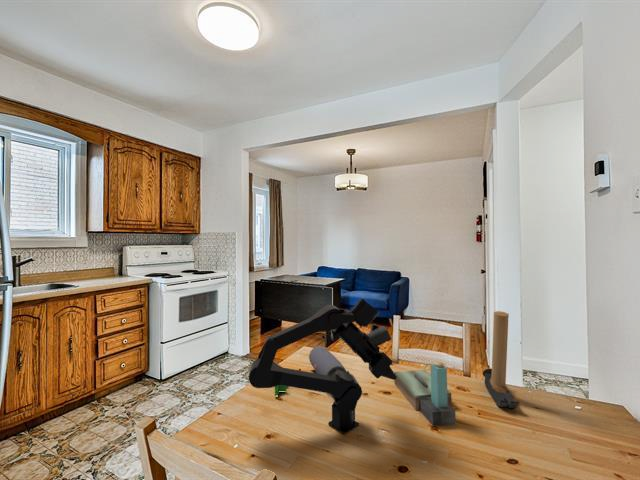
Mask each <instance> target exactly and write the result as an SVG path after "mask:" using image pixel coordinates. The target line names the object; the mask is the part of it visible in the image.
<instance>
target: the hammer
mask: <svg viewBox="0 0 640 480" xmlns="http://www.w3.org/2000/svg"><path fill="white" fill-rule="evenodd" d="M509 315H510V314H509V313H508V312H505V311H500V310H499V311H498V310H495V311H494V312H493V320H492V321H493V322H492V323H493V327H492V328H493V329H492V349H491V350H492V352H491V354H492V355H491V368H486V369H484V370H483V371H482V375H483V377H484V385H485V387H486V389H487V392H488V393H489V395H490V397H491V398H492V400H493V402H494V403H495V405H496V406H497V407H500V408H510V409H517V407H518V406H519V404H520V401H515V399H514V398H513V395H512V394H511V392H510V390H509V389H508V387H507V384H506V382H507V381H506V380H507V359H508V358H507V357H508V336H509V335H508V334H509V333H508V331H509Z"/></svg>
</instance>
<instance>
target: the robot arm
mask: <svg viewBox="0 0 640 480" xmlns="http://www.w3.org/2000/svg"><path fill="white" fill-rule="evenodd" d="M379 314H380V312H379V311H378V310H377V309H376V307H374V306H372V305H371V303H368V301H366V300H365V299H364V298H362V297H360V298H359V299H358V300H357V302H356V303H355V304H354V306H353V307H351V309H350V310H349V309H346V308H345V309H344V308H338V306H336V305H333V304H327V305H325V306H323V307H322V308H320V309H319V310H317V311H316V312H315V313H314V314H313V315H312V316H311V317H309V318H307V319H305V320H303V321H300V322H298V323H296V324H294V325H291V326H289V327H287V328H284V329H282V330H280V331H277V332H276V333H273V334H269V335H268V336H266V338H265V340H264V343H263V345H262V347H261V349H260V351H259V353H258V356H257V358H256V359H254V360H253V361H252V363H251V364H250V365H249V373H248V382H249V383H250V385H251V387H253V388H256V389H271V388H275V386H279V385H282V386H287V388H288V387H290V388H295V389H301V390H307V391H314V392H320V393H325V394H330V395H331V396H332V398H333V403H332V404H331V420H330V421H329V422H328V424H327V425H329V427H331V428H333V429H334V430H336V431H338V432H339V433H340V434H343V435H345V434H347V433H348V432H351V431H352V430H354V429H355V428H357V427H358V426H359V424H360V423H359V422H358V421H356V407H357V405H358V401H359V400H361V397H362V395H363V390H362V386H361V385H360V384H359V381H358V380H357V379H356V377H355V376H354V375H353V374H352V373H351V372H350V371H349V370H346V372H345V371H340V370H336V374H334V375H330V376H328V375H323V374H317V372H311V371H303V370H298V369H293V368H288V367H283V366H281V365H280V364H277V363H276V362H275V357H276V355H277V352H278V351H279V350H281V349H283V348H285V347H287V346H290V345H292V344H294V343H295V342H298V341H301V340H303V339H304V338H307V337H309V336H312V335H313V334H317V333H322V332H329V331H330V333H331V334H330V338H331V340H332V342H336V341H337V339H339V338H340V340H341V341H343V343H345V344H346V345H347V346H348V347H349V348H350V349H351V350H352V352H353V353H355V354H356V355H357V356H358V357H359V358H360V359H361V360H362V361H363V363H364V364H368V369H369V371H370V373H371V375H373V376H374V377H375V378H376V379H379V378H380V377H382V378H386V379H390V380H394V381H395V379H396V378H397V377H396V375H395V374H394V371H393V369H392V367H391V365H393V360H392V359H391V357H389V356H388V355H387V353H385V352H384V351H383V352H380V349H381V347H380V346H381V345H383V344H384V343H385V344H386V343H387V342H390V341H391V340H392V336H391V334H390V333H389V330H388V329H387V327H385V326H384V325H377V324H376V323H373V324H371V323H372V322H373V320H375V318H376V317H377V316H378V315H379ZM354 322H355V323H354ZM356 324H357V325H358V326H359V327H360V328H362V327H363V328H367V327H368V326H369V325H370V324H371V325H370V331H369V332H368V333H367V334H366V332H364V331H362V330H361V329H360V328H359V327H358V326H357V325H356Z"/></svg>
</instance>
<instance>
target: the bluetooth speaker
mask: <svg viewBox="0 0 640 480" xmlns="http://www.w3.org/2000/svg"><path fill="white" fill-rule="evenodd" d="M308 359H309V362H310V365H311V366H312V368H313V369H314V371H315V373H317V374H323V375H328V376H330V375H334V374H336V370H340V371H345V372H346V371H347V370H346V368H345V367H344V365H343V364H342V363H341V362H340V361H339V360H338V358H337V357H336V356H335V355H334V354H333V353H332V352H330V351H329V350H328V349H327V348H326V347H324V346H322V345H320V346H319V345H317V346H315V347H313V348H312V349H311V351H310V353H309V354H308Z"/></svg>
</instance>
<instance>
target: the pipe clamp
mask: <svg viewBox="0 0 640 480" xmlns="http://www.w3.org/2000/svg"><path fill="white" fill-rule="evenodd" d="M279 391H286V392H287V387H286V386H282V385H279V386H275V387H274V397H275V396H276V395H278V394H280V393H279Z"/></svg>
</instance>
